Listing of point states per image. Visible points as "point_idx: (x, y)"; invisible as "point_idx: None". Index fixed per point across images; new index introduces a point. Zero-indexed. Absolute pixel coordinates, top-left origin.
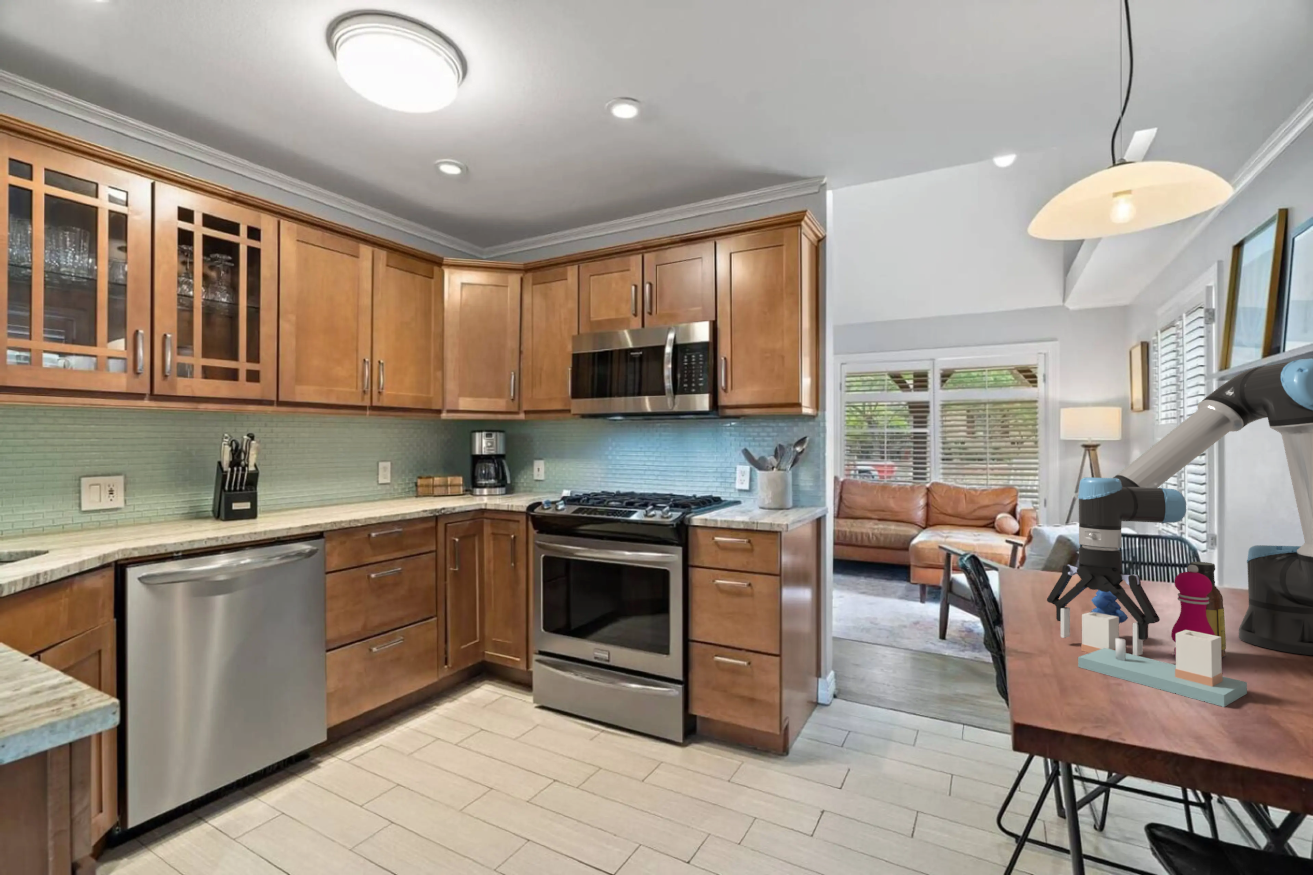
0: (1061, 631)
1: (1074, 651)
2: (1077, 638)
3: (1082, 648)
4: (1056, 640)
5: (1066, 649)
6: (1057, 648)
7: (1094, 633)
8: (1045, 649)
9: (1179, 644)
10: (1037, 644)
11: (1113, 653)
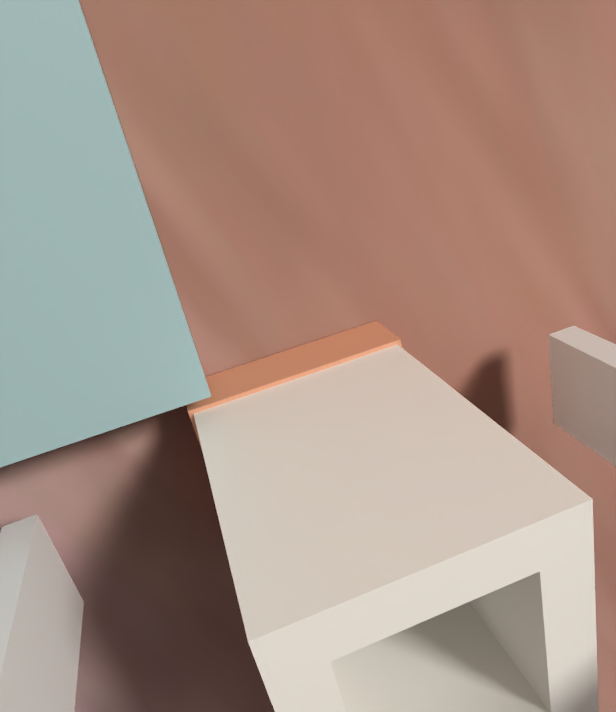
0: (604, 345)
1: (384, 247)
2: None
3: (376, 329)
4: None
5: (439, 228)
6: (482, 173)
7: (346, 436)
8: (505, 21)
9: None
10: (607, 98)
11: (32, 310)
